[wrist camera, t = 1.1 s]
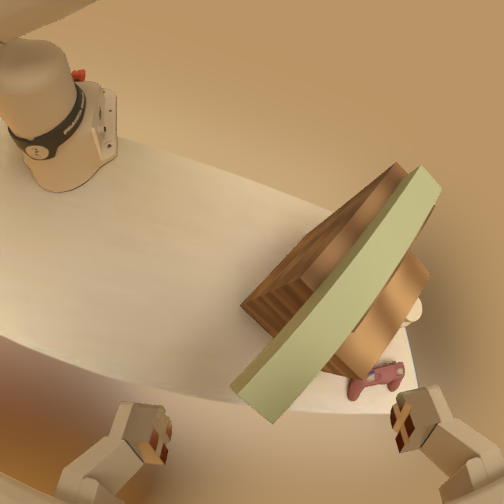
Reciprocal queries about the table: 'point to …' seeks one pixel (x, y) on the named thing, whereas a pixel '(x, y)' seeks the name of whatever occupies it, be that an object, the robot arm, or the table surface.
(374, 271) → the bar
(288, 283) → the pedestal
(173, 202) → the table surface
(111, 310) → the table surface
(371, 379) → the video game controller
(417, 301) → the supplement bottle
